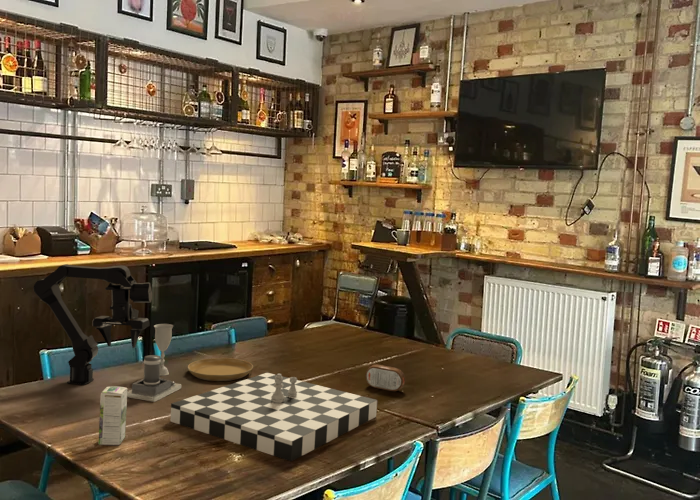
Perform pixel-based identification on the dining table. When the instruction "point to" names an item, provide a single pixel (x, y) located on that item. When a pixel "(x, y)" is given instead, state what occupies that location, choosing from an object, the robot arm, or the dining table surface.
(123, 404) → the syrup box
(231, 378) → the plant saucer
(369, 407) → the checkerboard
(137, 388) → the white base plate
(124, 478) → the dining table surface
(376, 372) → the tin
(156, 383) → the grey rounded cylinder
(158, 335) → the chalice
